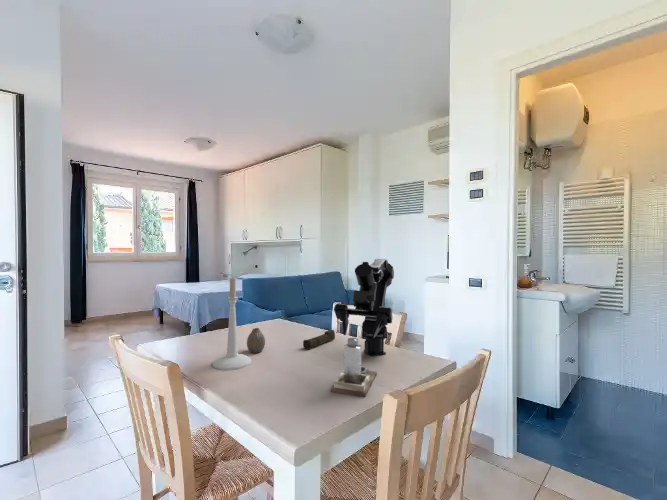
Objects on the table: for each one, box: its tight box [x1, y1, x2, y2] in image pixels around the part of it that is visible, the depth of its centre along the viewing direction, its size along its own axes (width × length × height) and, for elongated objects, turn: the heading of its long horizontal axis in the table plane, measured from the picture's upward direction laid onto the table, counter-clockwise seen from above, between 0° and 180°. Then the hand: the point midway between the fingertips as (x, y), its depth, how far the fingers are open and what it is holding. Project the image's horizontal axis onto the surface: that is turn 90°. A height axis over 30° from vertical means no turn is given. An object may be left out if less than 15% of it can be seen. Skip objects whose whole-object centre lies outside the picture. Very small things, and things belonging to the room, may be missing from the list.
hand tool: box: [302, 329, 336, 350], centre depth 142 cm, size 19×4×5 cm, turn 141°
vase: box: [246, 327, 266, 354], centre depth 131 cm, size 7×7×9 cm
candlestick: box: [212, 277, 252, 371], centre depth 118 cm, size 13×13×30 cm
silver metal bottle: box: [343, 337, 362, 385], centre depth 99 cm, size 5×5×13 cm
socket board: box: [330, 365, 378, 398], centre depth 103 cm, size 17×10×2 cm, turn 162°
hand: (358, 336), depth 106 cm, fingers open, 9 cm apart
